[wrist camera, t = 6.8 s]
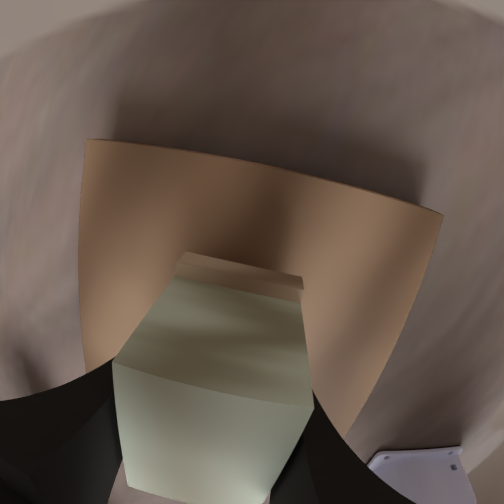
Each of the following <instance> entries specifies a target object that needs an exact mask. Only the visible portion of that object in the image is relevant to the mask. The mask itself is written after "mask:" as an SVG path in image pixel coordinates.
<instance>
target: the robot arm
mask: <svg viewBox="0 0 504 504" xmlns="http://www.w3.org/2000/svg"><path fill="white" fill-rule="evenodd" d="M115 357H116V356H115ZM115 357H114V358H115ZM114 358H112V359H111V360H109V361H107V362H106V363H104V364H103V365H101V366H99V367H98V368H96V369H94V370H92V371H90V372H89V373H87V374H85V375H83V376H81V377H79V378H77V379H75V380H73V381H71V382H68V383H66V384H64V385H61V386H59V387H56V388H53V389H50V390H47V391H44V392H41V393H37V394H34V395H30V396H26V397H22V398H17V399H11V400H5V401H0V504H107V503H108V499H109V496H110V493H111V490H112V487H113V484H114V481H115V478H116V475H117V473H118V470H119V467H120V464H121V462H122V459H123V456H122V450H121V443H120V436H119V429H118V422H117V413H116V404H115V395H114V384H113V371H112V361H113V360H114ZM312 393H313V402H314V410H313V412H312V414H311V416H310V418H309V420H308V422H307V424H306V426H305V428H304V430H303V432H302V434H301V436H300V438H299V440H298V442H297V444H296V446H295V447H294V449H293V451H292V453H291V455H290V457H289V459H288V460H287V462H286V464H285V466H284V468H283V469H282V471H281V473H280V475H279V477H278V478H277V480H276V482H275V483H274V485H273V487H272V489H271V494H270V503H269V504H477V501H476V498H475V495H474V492H473V490H472V487H471V485H470V482H469V480H468V478H467V475H466V473H465V471H464V468H463V466H462V464H461V461H460V459H459V457H458V455H459V454H460V453H461V452H462V450H463V449H462V447H461V446H458V447H449V448H439V449H426V450H408V451H381V452H378V453H377V454H376V455H375V456H374V457H373V459H372V460H371V461H370V462H369V464H368V465H367V466H366V465H365V464H364V463H363V462H362V461H361V460H360V459H359V457H358V456H357V455H356V454H355V453H354V452H353V451H352V449H351V448H350V447H349V446H348V445H347V444H346V442H345V441H344V440H343V438H342V437H341V436H340V434H339V433H338V431H337V430H336V428H335V427H334V426H333V424H332V422H331V421H330V419H329V418H328V416H327V414H326V413H325V411H324V409H323V408H322V406H321V404H320V403H319V401H318V399H317V397H316V395H315V393H314V391H313V389H312Z"/></svg>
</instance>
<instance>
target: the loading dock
mask: <svg viewBox="0 0 504 504" xmlns="http://www.w3.org/2000/svg"><path fill="white" fill-rule="evenodd" d="M443 217H444V215H442V214H440V213H438V212H436V211H433V210H431V209H429V208H426V207H423V206H419V205H416V204H413V203H410V202H407V201H404V200H400V199H397V198H394V197H391V196H387V195H384V194H380V193H377V192H374V191H370V190H367V189H363V188H359V187H356V186H352V185H348V184H345V183H341V182H337V181H333V180H329V179H325V178H321V177H317V176H313V175H309V174H305V173H301V172H297V171H292V170H288V169H283V168H279V167H274V166H270V165H265V164H260V163H255V162H251V161H246V160H240V159H235V158H230V157H225V156H219V155H214V154H208V153H202V152H196V151H190V150H184V149H177V148H171V147H164V146H157V145H150V144H142V143H134V142H126V141H117V140H108V139H87V143H86V150H85V158H84V166H83V176H82V186H81V199H80V215H79V244H78V274H79V303H80V319H81V332H82V342H83V352H84V360H85V368H86V374H87V373H89V372H90V371H92V370H94V369H96V368H98V367H99V366H101V365H103V364H104V363H106V362H107V361H109V360H111V359H112V358H114V357H115V356H116V355H117V354H118V353H119V351H120V350H121V348H122V347H123V346H124V344H125V343H126V341H127V340H128V339H129V337H130V336H131V334H132V333H133V332H134V330H135V329H136V328H137V326H138V325H139V323H140V322H141V321H142V319H143V318H144V317H145V315H146V314H147V313H148V311H149V310H150V308H151V307H152V306H153V304H154V303H155V302H156V300H157V299H158V298H159V296H160V295H161V294H162V292H163V291H164V290H165V288H166V287H167V286H168V284H169V283H170V282H171V280H172V279H173V278H174V276H175V272H176V264H177V261H178V260H179V259H180V258H181V257H182V255H183V254H184V253H185V252H191V253H195V254H200V255H204V256H209V257H213V258H218V259H222V260H227V261H231V262H236V263H240V264H245V265H250V266H254V267H259V268H263V269H268V270H273V271H277V272H282V273H287V274H291V275H296V276H301V277H302V279H303V285H304V290H305V291H304V294H303V297H302V301H301V309H302V316H303V323H304V330H305V337H306V345H307V353H308V360H309V368H310V376H311V385H312V389H313V391H314V393H315V395H316V397H317V399H318V401H319V403H320V404H321V406H322V408H323V409H324V411H325V413H326V414H327V416H328V418H329V419H330V421H331V422H332V424H333V426H334V427H335V428H336V430H337V431H338V433H339V434H340V436H341V437H342V438H343V439H344V438H345V436H346V434H347V433H348V431H349V430H350V428H351V426H352V425H353V423H354V421H355V420H356V418H357V416H358V415H359V413H360V411H361V410H362V408H363V406H364V404H365V403H366V401H367V399H368V397H369V395H370V394H371V392H372V390H373V388H374V386H375V384H376V383H377V381H378V379H379V377H380V375H381V373H382V371H383V369H384V367H385V365H386V363H387V361H388V359H389V357H390V355H391V353H392V351H393V349H394V347H395V345H396V342H397V340H398V338H399V336H400V334H401V331H402V329H403V327H404V325H405V322H406V320H407V318H408V315H409V313H410V311H411V308H412V306H413V303H414V301H415V299H416V296H417V293H418V291H419V288H420V286H421V283H422V280H423V278H424V275H425V272H426V270H427V267H428V264H429V261H430V258H431V255H432V252H433V249H434V246H435V243H436V240H437V237H438V234H439V230H440V227H441V224H442V220H443Z"/></svg>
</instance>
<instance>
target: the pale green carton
mask: <svg viewBox="0 0 504 504" xmlns="http://www.w3.org/2000/svg"><path fill="white" fill-rule="evenodd" d="M304 291H305V290H304V285H303V279H302V277H301V276H296V275H291V274H287V273H282V272H277V271H273V270H268V269H263V268H259V267H254V266H250V265H245V264H240V263H236V262H231V261H227V260H222V259H218V258H213V257H209V256H204V255H200V254H195V253H191V252H185V253H184V254H183V255H182V257H181V258H180V259H179V260H178V261H177V264H176V272H175V276H174V278H173V279H172V280H171V282H170V283H169V284H168V286H167V287H166V288H165V290H164V291H163V292H162V294H161V295H160V296H159V298H158V299H157V300H156V302H155V303H154V304H153V306H152V307H151V308H150V310H149V311H148V313H147V314H146V315H145V317H144V318H143V319H142V321H141V322H140V323H139V325H138V326H137V328H136V329H135V330H134V332H133V333H132V334H131V336H130V337H129V339H128V340H127V341H126V343H125V344H124V346H123V347H122V348H121V350H120V351H119V353H118V354H117V355H116V357H115V358H114V360H113V361H112V371H113V384H114V395H115V404H116V413H117V422H118V429H119V436H120V443H121V450H122V456H123V462H124V467H125V473H126V478H127V483H128V486H130V487H133V488H136V489H139V490H142V491H145V492H149V493H152V494H155V495H159V496H162V497H166V498H169V499H173V500H177V501H181V502H185V503H189V504H262V503H263V502H264V500H265V499H266V497H267V495H268V494H269V492H270V490H271V489H272V487H273V485H274V483H275V482H276V480H277V478H278V477H279V475H280V473H281V471H282V469H283V468H284V466H285V464H286V462H287V460H288V459H289V457H290V455H291V453H292V451H293V449H294V447H295V446H296V444H297V442H298V440H299V438H300V436H301V434H302V432H303V430H304V428H305V426H306V424H307V422H308V420H309V418H310V416H311V414H312V412H313V410H314V402H313V393H312V385H311V376H310V368H309V360H308V353H307V345H306V337H305V330H304V323H303V316H302V309H301V301H302V297H303V294H304Z"/></svg>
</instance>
